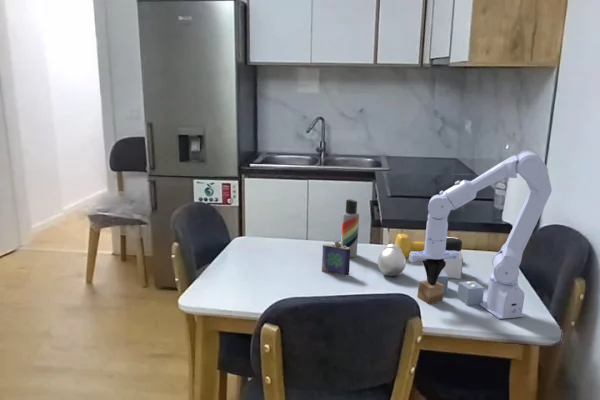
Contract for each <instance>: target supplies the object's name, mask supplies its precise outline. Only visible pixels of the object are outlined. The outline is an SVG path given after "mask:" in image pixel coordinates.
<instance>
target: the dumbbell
mask: <svg viewBox="0 0 600 400" xmlns="http://www.w3.org/2000/svg"><path fill="white" fill-rule="evenodd" d="M447 237H449V236H448V235H447ZM394 244H395V245H396V246H399V247H400V248H401V249H402V253H403V254H404V256H405V259H406V260H407V259H409V254H410V253H412V252H415V253H416V252H420V251H424V248H425V241H412V240H411V239H410V237H409V235H407V234H406V233H398V234H397V235H396V237H395V242H394Z"/></svg>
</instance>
